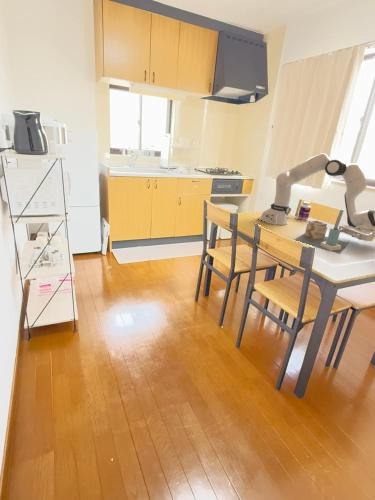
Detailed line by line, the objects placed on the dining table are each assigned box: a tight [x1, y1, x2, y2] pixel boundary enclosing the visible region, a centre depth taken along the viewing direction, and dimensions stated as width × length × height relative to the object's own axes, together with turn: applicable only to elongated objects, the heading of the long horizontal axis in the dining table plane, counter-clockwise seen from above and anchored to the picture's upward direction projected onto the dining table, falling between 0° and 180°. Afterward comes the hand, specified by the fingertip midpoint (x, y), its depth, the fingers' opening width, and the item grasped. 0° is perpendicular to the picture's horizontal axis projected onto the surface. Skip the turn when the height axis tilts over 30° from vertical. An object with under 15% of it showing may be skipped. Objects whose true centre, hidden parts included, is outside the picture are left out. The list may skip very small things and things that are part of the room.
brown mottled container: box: [304, 220, 328, 239], centre depth 186 cm, size 9×9×10 cm
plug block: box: [326, 226, 341, 246], centre depth 167 cm, size 4×4×13 cm
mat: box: [294, 232, 350, 255], centre depth 179 cm, size 28×28×1 cm
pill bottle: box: [297, 201, 312, 221], centre depth 230 cm, size 8×8×14 cm
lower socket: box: [320, 242, 341, 252], centre depth 169 cm, size 8×8×2 cm
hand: (346, 233), depth 170 cm, fingers open, 8 cm apart
